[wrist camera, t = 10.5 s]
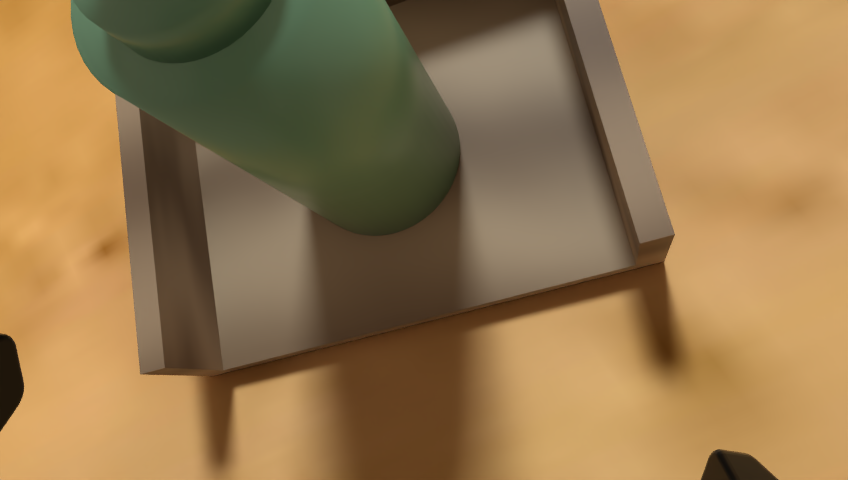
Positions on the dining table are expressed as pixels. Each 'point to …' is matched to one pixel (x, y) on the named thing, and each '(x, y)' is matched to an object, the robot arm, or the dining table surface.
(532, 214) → the u rest
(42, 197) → the dining table surface
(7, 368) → the robot arm
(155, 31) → the bottle
